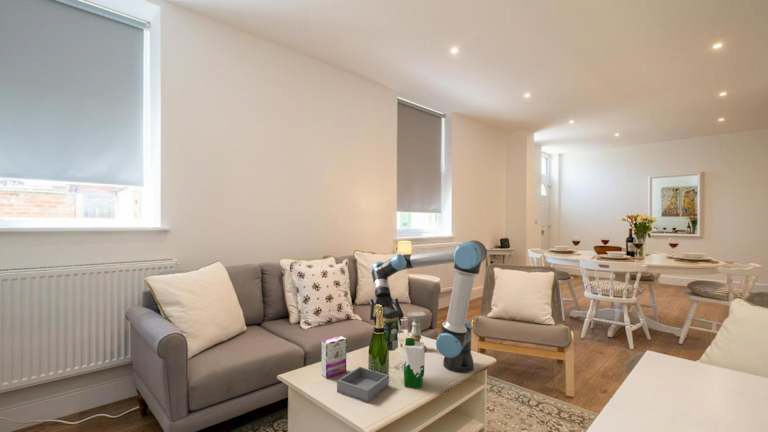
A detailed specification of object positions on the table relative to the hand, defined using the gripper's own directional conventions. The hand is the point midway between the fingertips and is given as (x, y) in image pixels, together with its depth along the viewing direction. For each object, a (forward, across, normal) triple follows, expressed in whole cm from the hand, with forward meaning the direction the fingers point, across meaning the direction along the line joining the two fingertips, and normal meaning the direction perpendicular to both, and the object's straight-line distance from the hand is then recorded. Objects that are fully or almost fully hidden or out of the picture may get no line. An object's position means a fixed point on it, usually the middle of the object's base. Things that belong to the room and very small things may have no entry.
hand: (389, 332), depth 169 cm
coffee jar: (+4, 0, -8) cm, 9 cm away
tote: (+20, +13, -10) cm, 26 cm away
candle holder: (-8, -24, -39) cm, 46 cm away
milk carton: (+20, -10, -11) cm, 25 cm away
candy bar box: (+8, +24, -23) cm, 34 cm away
